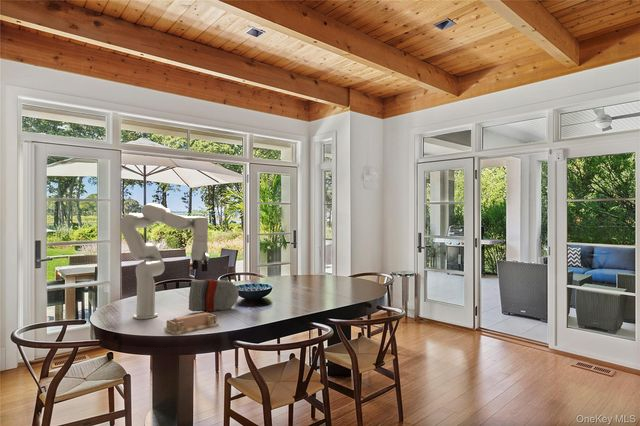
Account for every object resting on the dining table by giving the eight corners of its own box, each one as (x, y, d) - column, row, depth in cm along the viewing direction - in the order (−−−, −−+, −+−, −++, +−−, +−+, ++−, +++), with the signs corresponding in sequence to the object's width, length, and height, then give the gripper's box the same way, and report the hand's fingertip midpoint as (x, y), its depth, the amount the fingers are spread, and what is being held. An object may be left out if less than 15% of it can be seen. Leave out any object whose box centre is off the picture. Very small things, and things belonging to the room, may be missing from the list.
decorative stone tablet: (194, 280, 230) (241, 280, 248) (190, 278, 235) (236, 279, 253) (190, 313, 229) (237, 311, 246) (186, 311, 234) (233, 309, 252)
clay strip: (177, 329, 196) (177, 319, 196) (173, 328, 199) (173, 318, 199) (209, 323, 210) (209, 313, 210) (205, 321, 212) (205, 312, 212)
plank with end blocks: (175, 334, 191) (176, 324, 191) (164, 329, 200) (164, 319, 200) (218, 325, 209) (218, 316, 209) (206, 321, 217) (206, 312, 217)
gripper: (186, 238, 219) (185, 269, 219) (202, 240, 207) (201, 272, 207) (198, 238, 224) (197, 268, 224) (215, 239, 212) (214, 271, 212)
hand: (199, 270), depth 215 cm, fingers open, 9 cm apart
